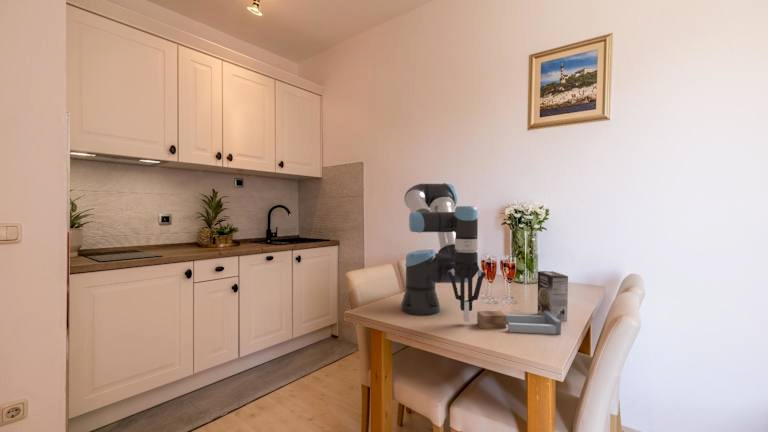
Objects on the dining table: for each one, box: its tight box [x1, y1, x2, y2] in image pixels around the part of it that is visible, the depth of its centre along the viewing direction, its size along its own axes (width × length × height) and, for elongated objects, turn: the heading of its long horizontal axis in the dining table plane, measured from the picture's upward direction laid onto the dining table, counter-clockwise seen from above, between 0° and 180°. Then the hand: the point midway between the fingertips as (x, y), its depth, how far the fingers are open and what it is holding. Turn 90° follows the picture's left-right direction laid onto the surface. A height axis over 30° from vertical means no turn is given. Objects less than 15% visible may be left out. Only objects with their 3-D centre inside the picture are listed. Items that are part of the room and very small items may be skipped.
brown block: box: [476, 310, 507, 330], centre depth 109 cm, size 8×5×4 cm, turn 94°
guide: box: [504, 311, 562, 335], centre depth 108 cm, size 16×10×4 cm
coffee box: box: [537, 270, 569, 322], centre depth 118 cm, size 9×6×16 cm
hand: (466, 319), depth 111 cm, fingers closed
